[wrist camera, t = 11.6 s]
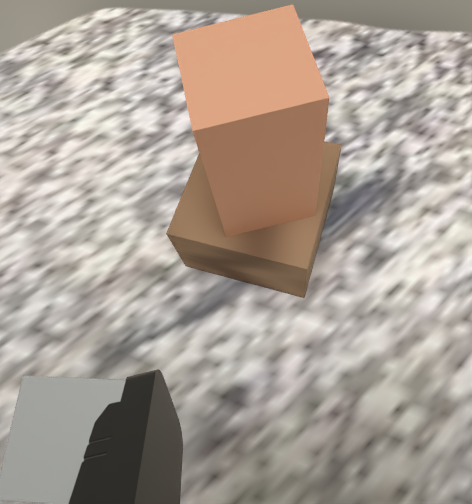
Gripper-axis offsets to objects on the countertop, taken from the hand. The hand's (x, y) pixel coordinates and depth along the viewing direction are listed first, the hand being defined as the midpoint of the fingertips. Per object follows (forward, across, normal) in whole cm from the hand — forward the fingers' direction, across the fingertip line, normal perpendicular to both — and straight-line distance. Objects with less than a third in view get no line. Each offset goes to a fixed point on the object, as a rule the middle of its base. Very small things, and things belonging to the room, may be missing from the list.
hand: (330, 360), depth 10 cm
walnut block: (+19, 0, +3) cm, 20 cm away
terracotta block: (+16, 0, -1) cm, 16 cm away
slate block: (+12, +11, +11) cm, 19 cm away
